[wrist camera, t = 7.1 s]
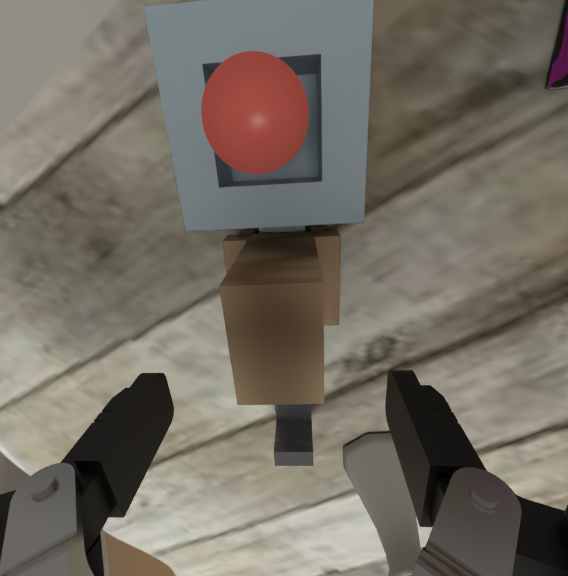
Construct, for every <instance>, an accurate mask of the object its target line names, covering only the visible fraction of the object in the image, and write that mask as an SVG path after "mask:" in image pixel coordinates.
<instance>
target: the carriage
mask: <svg viewBox="0 0 568 576" xmlns="http://www.w3.org/2000/svg"><path fill="white" fill-rule="evenodd" d="M223 248H224V256H225V263H226V270H227V275H226V276H225V278H224V279H223V281H222V283H221V284H220V286H219V287H220V294H221V300H222V307H223V313H224V320H225V326H226V333H227V339H228V346H229V352H230V358H231V365H232V371H233V378H234V384H235V391H236V397H237V404H238V405H271V404H324V334H323V325H339V294H340V234H339V232H338V230H329V231H325V228H324V225H317V226H310V231H309V232H288V233H267V234H257V229H243V231H242V232H241V233H240V235H228V236H227V237H226V238H225V239H224V240H223Z"/></svg>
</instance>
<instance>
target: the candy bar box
mask: <svg viewBox="0 0 568 576" xmlns="http://www.w3.org/2000/svg"><path fill="white" fill-rule="evenodd" d="M547 88H548V89H556V88H568V0H567V4H566V8H565V13H564V17H563V21H562V26H561V30H560V34H559V39H558V43H557V47H556V52H555V56H554V61H553V65H552V69H551V73H550V77H549V82H548V86H547Z"/></svg>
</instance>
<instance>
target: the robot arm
mask: <svg viewBox="0 0 568 576" xmlns="http://www.w3.org/2000/svg"><path fill="white" fill-rule="evenodd" d="M385 408H386V418H387V423H388V426H389V429H390V433H391V436H392V439H393V442H394V445H395V449H396V452H397V455H398V458H399V461H400V465H401V468H402V471H403V474H404V477H405V481H406V484H407V487H408V490H409V493H410V496H411V500H412V503H413V506H414V509H415V512H416V516H417V519H418V522H419V525H420V527H433V528H432V531H431V534H430V536H429V539H428V542H427V544H426V546H425V548H424V547H423V548H422V550H421V552H420V554H419V557H418V559H417V562H416V564H415V567H414V570H413V572H412V575H411V576H568V505H567V508H566V510H565V511H563V510H560V509H556V508H553V507H550V506H546V505H543V504H540V503H537V502H533V501H530V500H527V499H524V498H522V497H520V496H517V495H515V493H514V492H513V491H512V489H511V488H510V487H509V486H508V485H507V484H506V483H505V482H503V481H502V480H501V479H500V478H498V477H497V476H495V475H493V474H492V473H490V472H488V471H487V470H486V468H485V467H484V465H483V464H482V462H481V460H480V458H479V457H478V455H477V453H476V451H475V450H474V448H473V446H472V445H471V443H470V441H469V439H468V438H467V436H466V434H465V433H464V431H463V429H462V427H461V426H460V424H458V421H457V419H456V417H455V415H454V414H453V412H451V409H450V407H449V405H448V403H447V402H446V400H445V398H444V397H443V396H442V395H441V394H440V393H439V392H438V391H436V390H435V389H434V388H433V387H432V386H431V385H420V383H419V381H418V379H417V377H416V375H415V373H414V372H413V371H412V370H389V372H388V379H387V392H386V405H385ZM173 413H174V406H173V402H172V398H171V394H170V390H169V387H168V383H167V379H166V376H165V375H164V374H163V373H142V374H140V375H139V376H138V377H137V379H136V380H135V381H134V383H133V384H132V385H131V386H130V388H125V389H124V390H122V391H121V392H120V393H118V394H117V395H116V396H114V397H113V398H112V399H111V400H110V401H109V403H108V404H107V405H106V406H105V408H104V409H103V410H102V413H100V414H99V415H98V416H97V418H96V419H95V420H94V423H92V424H91V425H90V426H89V428H88V429H87V430H86V431H85V433H84V434H83V435H82V436H81V438H80V439H79V440H78V441H77V443H76V444H75V445H74V446H73V448H72V449H71V450H70V451H69V453H68V454H67V455H66V456H65V458H64V459H63V460H62V461H61V463H57V464H53V465H50V466H47V467H45V468H43V469H41V470H39V471H38V472H36V473H34V474H33V475H32V476H30V477H29V478H28V479H27V480H26V481H24V482H23V483H22V484H21V485H20V487H19V488H18V489H17V490H15V491H11V492H8V493H4V494H1V495H0V576H109V571H108V562H107V554H106V553H107V552H106V544H105V534H104V531H103V529H102V528H103V526H104V524H105V523H106V521H107V519H108V517H124V516H125V514H126V512H127V510H128V508H129V506H130V504H131V502H132V500H133V498H134V496H135V494H136V492H137V490H138V488H139V486H140V484H141V482H142V480H143V478H144V476H145V474H146V472H147V470H148V468H149V466H150V464H151V462H152V460H153V458H154V456H155V454H156V452H157V450H158V448H159V446H160V444H161V442H162V440H163V438H164V436H165V434H166V432H167V430H168V428H169V426H170V424H171V422H172V419H173Z"/></svg>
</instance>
